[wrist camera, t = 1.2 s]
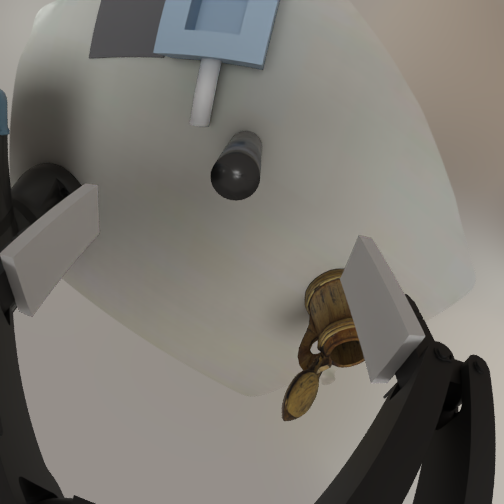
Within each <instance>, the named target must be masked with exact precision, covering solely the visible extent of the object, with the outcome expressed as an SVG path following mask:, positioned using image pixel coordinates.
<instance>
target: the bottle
mask: <svg viewBox="0 0 504 504" xmlns="http://www.w3.org/2000/svg"><path fill="white" fill-rule="evenodd" d="M261 156H262V142H261V140H260V138H259V137H258V136H257V135H256V134H255V133H253V132H250V131H241V132H238V133H237V134H235V135H234V136H233V137H232V139H231V140H230V142H229V143H228V145H227V146H226V148H225V149H224V151H223V152H222V154H221V155H220V157H219V158H218V160H217V161H216V163H215V164H214V166H213V168H212V171H211V182H212V185H213V187H214V189H215V190H216V192H217V193H218V194H219V195H221V196H222V197H224V198H226V199H229V200H242V199H245V198H248V197H249V196H251V195H252V194H253V193H254V192H255V191H256V189H257V188H258V185H259V182H260V170H261Z"/></svg>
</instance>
